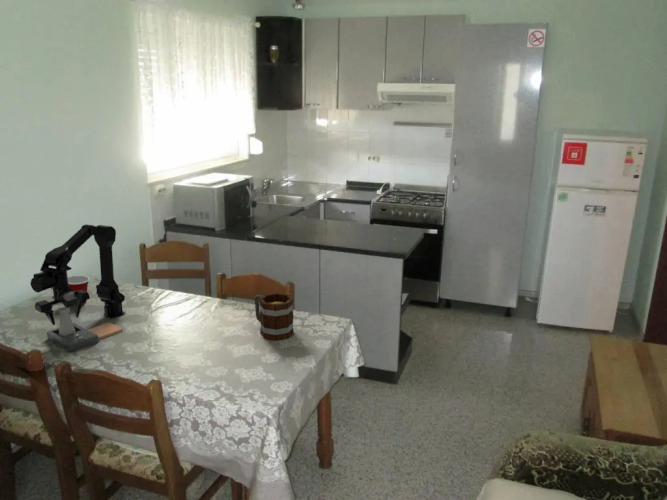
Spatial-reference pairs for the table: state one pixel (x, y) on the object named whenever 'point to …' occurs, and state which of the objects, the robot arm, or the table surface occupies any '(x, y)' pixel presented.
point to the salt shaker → (65, 322)
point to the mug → (275, 315)
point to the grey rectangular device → (73, 338)
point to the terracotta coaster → (105, 330)
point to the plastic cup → (78, 283)
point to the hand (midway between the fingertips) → (65, 321)
